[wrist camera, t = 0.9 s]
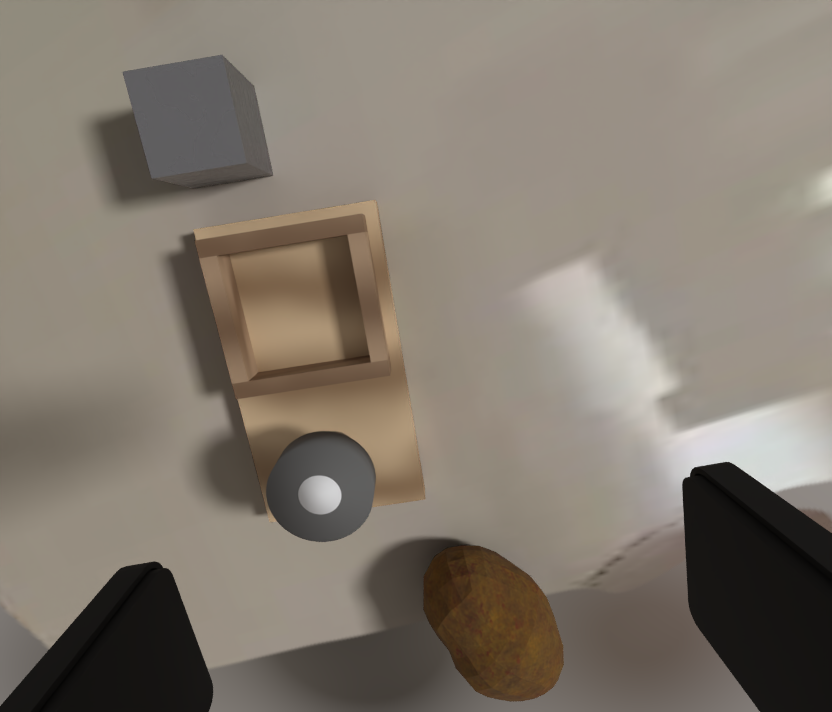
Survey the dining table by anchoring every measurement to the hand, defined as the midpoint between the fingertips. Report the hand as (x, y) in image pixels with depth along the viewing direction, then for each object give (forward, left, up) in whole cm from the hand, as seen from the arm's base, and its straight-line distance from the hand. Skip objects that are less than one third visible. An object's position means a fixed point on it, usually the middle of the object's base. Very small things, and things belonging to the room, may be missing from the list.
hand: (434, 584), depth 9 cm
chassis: (+2, -7, -24) cm, 25 cm away
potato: (+21, +2, -24) cm, 32 cm away
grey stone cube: (-13, -10, -24) cm, 29 cm away
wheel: (+7, -7, -19) cm, 21 cm away
